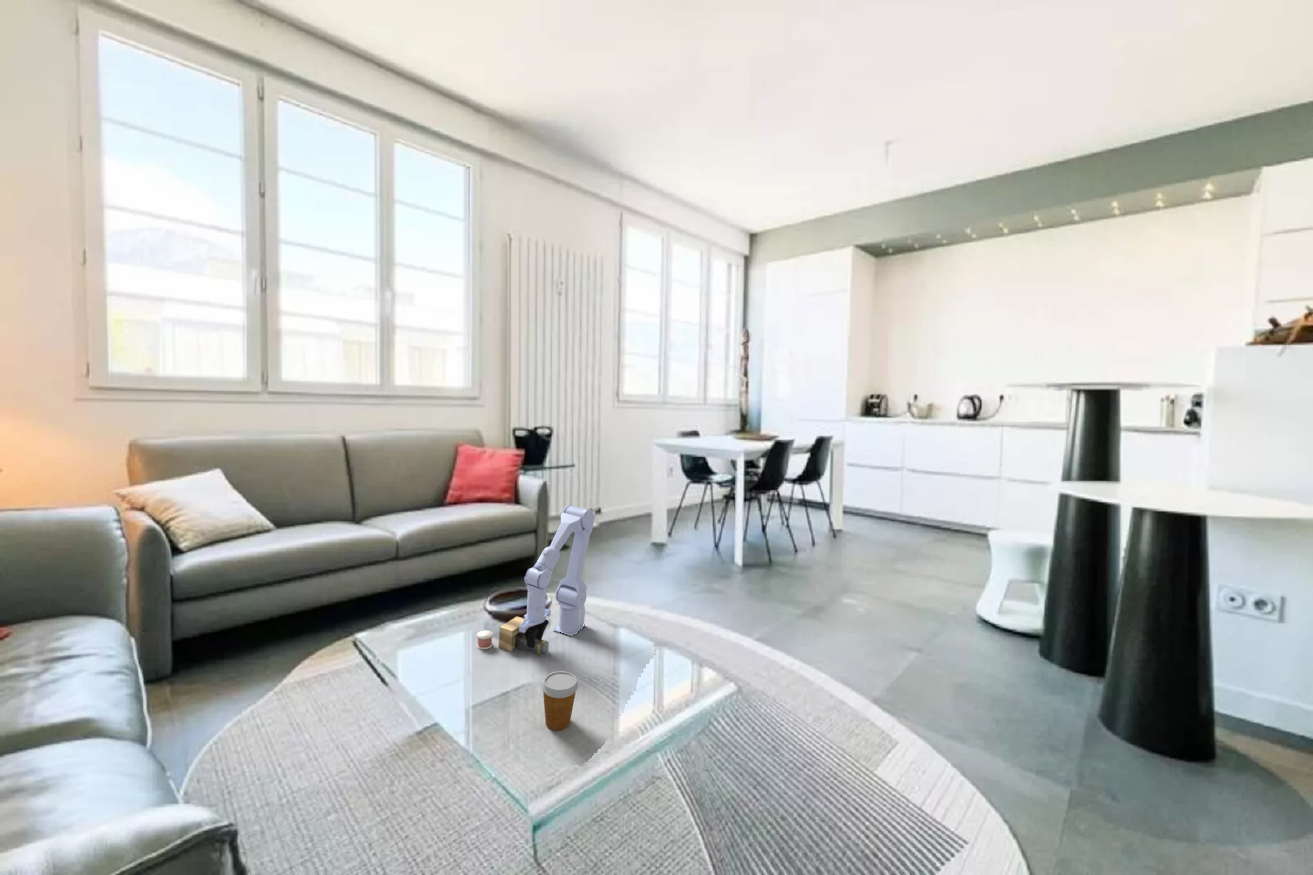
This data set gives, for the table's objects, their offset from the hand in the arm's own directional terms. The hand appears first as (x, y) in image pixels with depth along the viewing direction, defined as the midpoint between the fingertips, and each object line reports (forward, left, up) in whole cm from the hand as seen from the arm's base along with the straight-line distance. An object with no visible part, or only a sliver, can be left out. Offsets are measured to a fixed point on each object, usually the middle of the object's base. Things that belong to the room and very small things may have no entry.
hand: (534, 644), depth 182 cm
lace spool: (+6, -15, -2) cm, 16 cm away
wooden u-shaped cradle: (0, -8, -2) cm, 8 cm away
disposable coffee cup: (+27, +27, -2) cm, 38 cm away
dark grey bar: (0, -3, -2) cm, 4 cm away
